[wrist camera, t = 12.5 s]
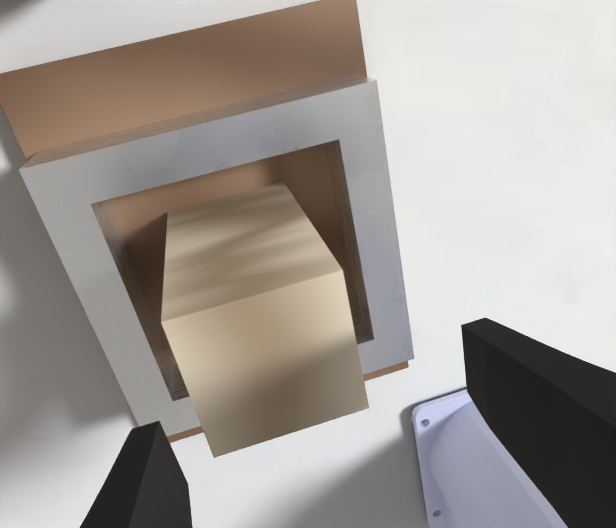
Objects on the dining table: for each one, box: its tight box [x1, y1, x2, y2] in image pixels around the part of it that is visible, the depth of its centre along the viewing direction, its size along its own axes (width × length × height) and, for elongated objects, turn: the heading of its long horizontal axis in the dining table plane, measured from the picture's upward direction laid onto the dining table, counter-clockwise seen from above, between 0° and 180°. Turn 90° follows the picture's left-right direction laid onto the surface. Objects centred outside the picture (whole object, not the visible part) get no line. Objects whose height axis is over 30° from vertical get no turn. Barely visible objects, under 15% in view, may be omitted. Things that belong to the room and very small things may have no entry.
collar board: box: [0, 0, 414, 443], centre depth 20 cm, size 16×12×3 cm
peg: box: [161, 181, 369, 458], centre depth 17 cm, size 4×4×8 cm
